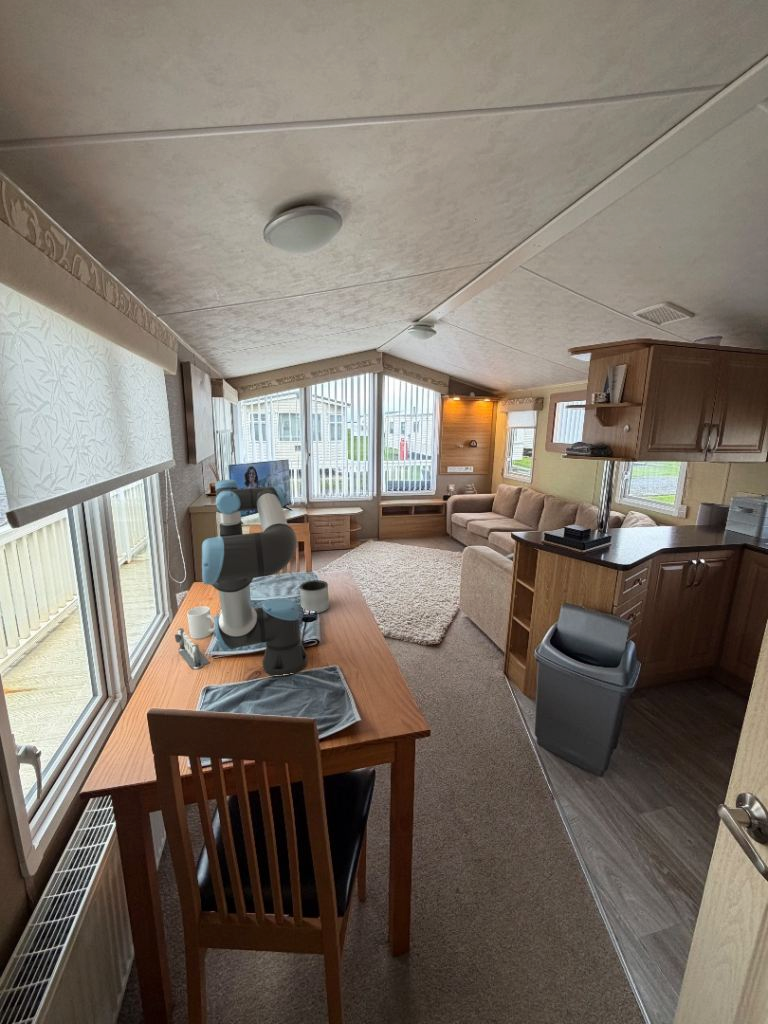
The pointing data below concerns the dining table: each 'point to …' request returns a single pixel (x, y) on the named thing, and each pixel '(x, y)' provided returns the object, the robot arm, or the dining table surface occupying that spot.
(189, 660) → the grey flat plate
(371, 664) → the dining table surface
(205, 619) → the mug
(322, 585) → the planter
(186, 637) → the gate
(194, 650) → the gateposts
